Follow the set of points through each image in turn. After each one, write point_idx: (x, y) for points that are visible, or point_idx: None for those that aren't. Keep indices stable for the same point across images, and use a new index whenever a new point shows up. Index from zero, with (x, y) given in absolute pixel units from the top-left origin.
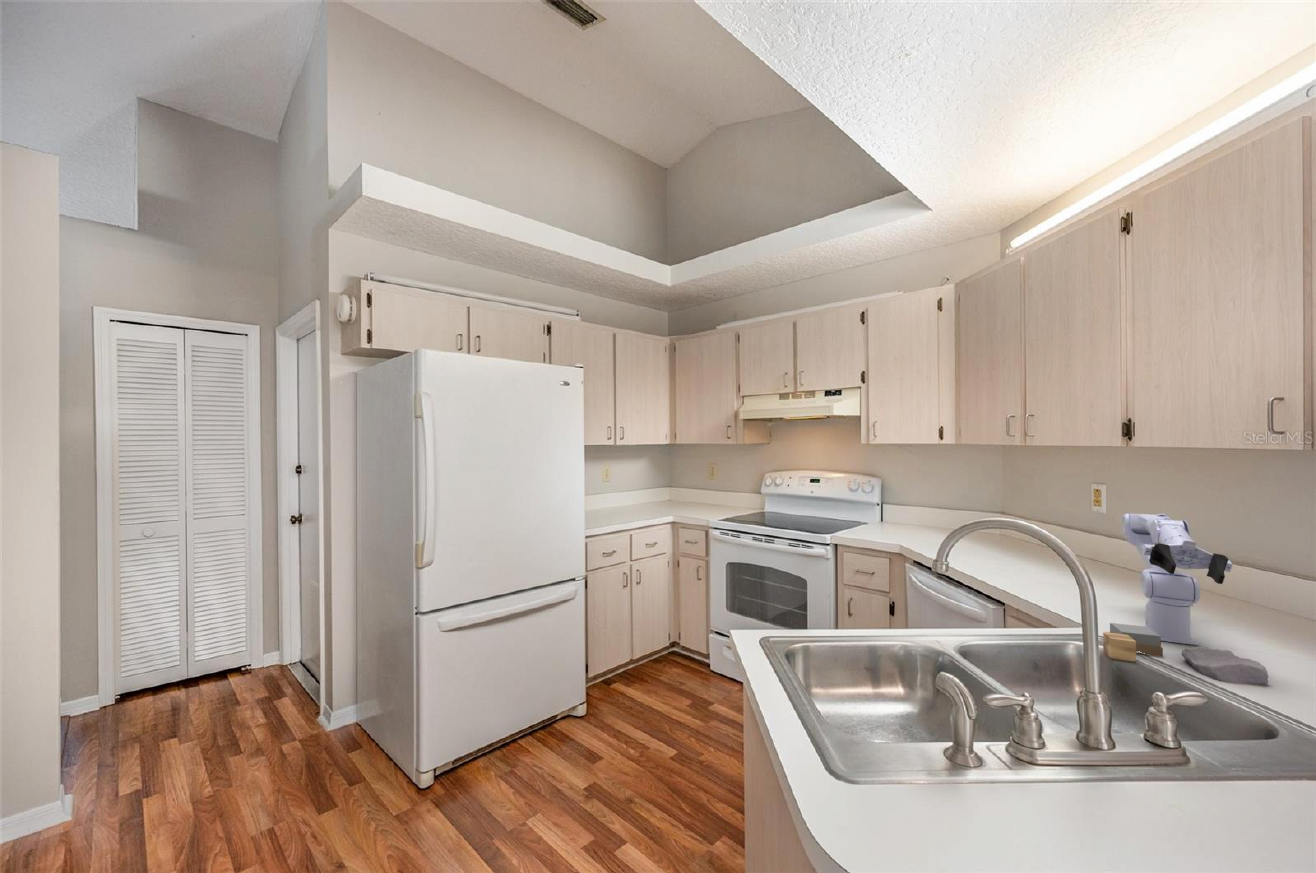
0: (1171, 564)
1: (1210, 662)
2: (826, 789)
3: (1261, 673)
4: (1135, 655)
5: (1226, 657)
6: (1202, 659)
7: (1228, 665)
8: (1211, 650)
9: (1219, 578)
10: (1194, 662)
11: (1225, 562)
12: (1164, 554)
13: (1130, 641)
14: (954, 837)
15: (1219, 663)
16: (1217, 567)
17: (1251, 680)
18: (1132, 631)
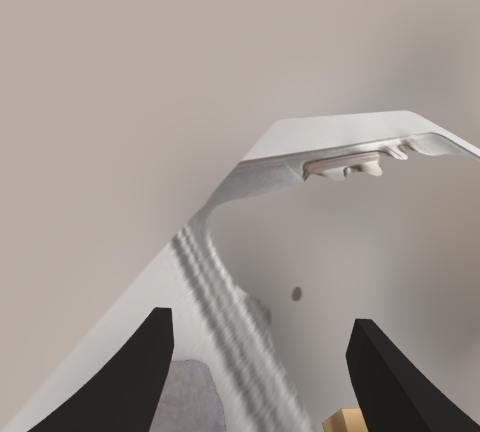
0: (378, 327)
1: (201, 388)
2: (435, 129)
3: None
4: (329, 419)
5: (158, 413)
6: (203, 424)
7: (181, 362)
8: None
9: (171, 323)
10: (222, 412)
11: (34, 427)
12: (457, 407)
13: (351, 409)
14: (386, 117)
15: (190, 376)
16: (139, 372)
17: None
18: None
